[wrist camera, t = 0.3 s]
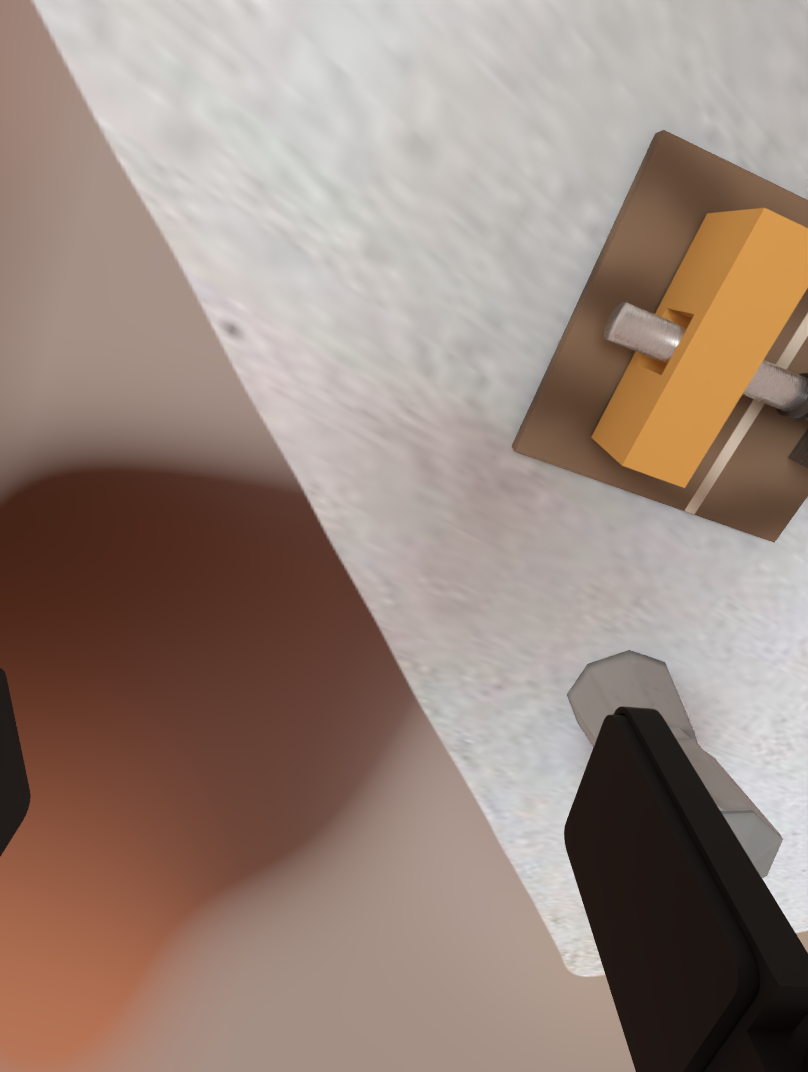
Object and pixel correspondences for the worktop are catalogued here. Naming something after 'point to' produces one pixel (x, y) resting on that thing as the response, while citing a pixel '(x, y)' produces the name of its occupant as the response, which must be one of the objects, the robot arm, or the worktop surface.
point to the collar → (708, 342)
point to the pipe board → (598, 364)
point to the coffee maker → (652, 687)
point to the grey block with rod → (662, 337)
